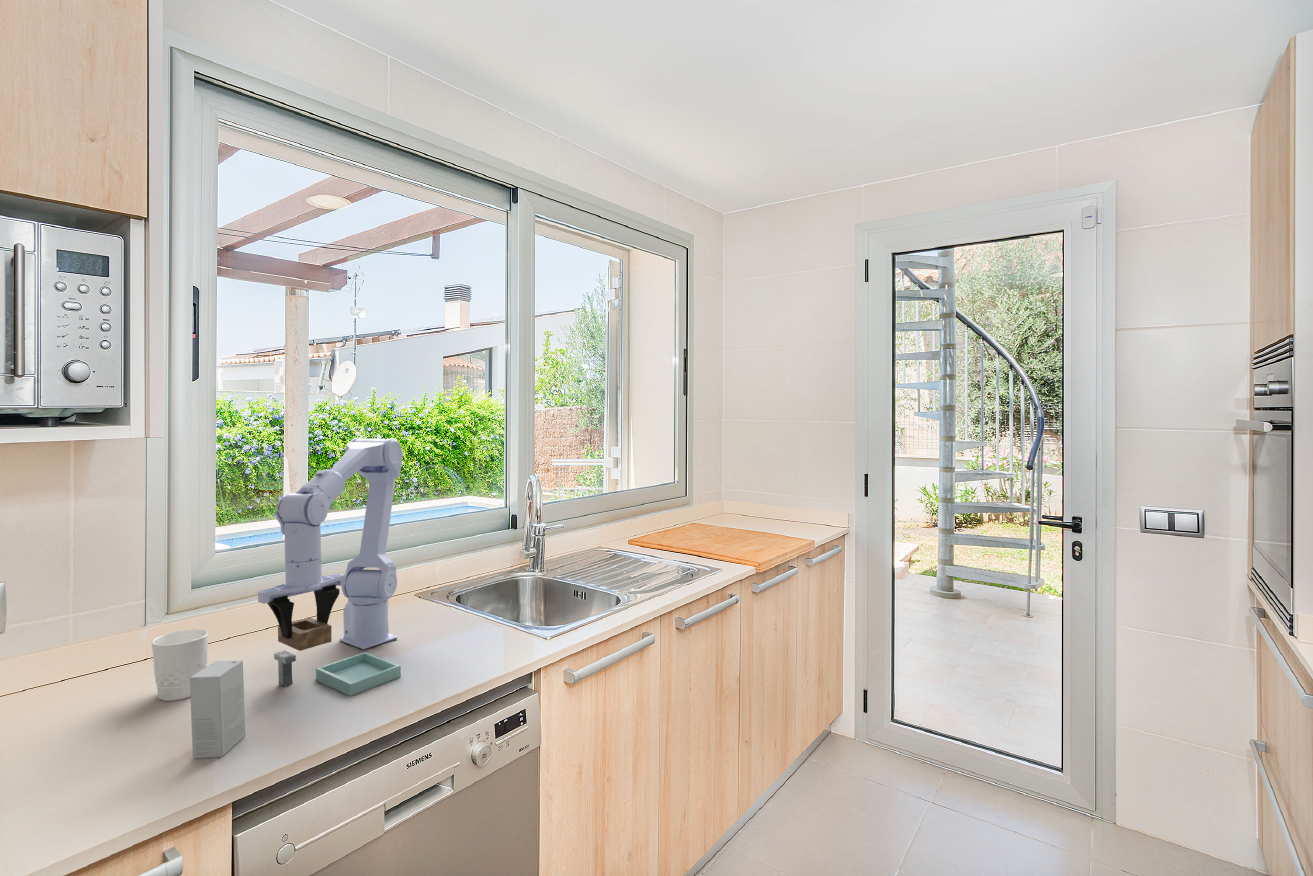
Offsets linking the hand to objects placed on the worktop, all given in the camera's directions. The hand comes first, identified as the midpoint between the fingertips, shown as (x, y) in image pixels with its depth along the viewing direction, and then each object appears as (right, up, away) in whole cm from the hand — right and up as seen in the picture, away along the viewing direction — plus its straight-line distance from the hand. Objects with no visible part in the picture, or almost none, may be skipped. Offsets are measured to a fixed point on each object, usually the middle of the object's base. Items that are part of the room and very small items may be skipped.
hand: (304, 632), depth 114 cm
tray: (+9, -9, +2) cm, 13 cm away
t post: (-3, -9, 0) cm, 10 cm away
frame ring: (0, -2, 0) cm, 2 cm away
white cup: (-20, -10, -4) cm, 22 cm away
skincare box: (0, -11, -22) cm, 24 cm away
